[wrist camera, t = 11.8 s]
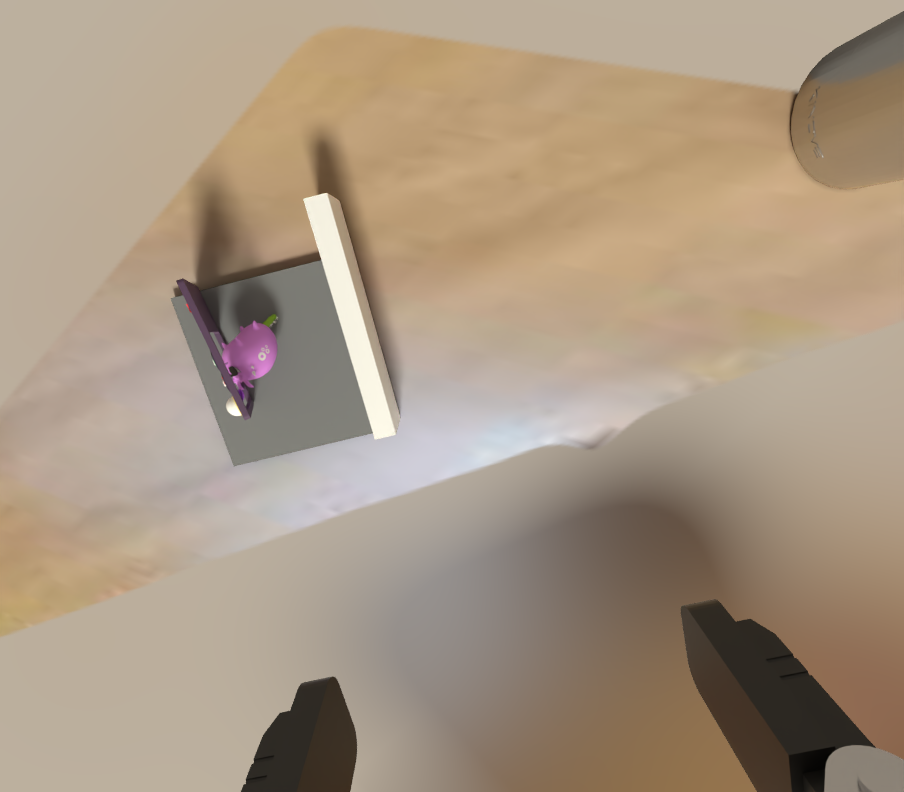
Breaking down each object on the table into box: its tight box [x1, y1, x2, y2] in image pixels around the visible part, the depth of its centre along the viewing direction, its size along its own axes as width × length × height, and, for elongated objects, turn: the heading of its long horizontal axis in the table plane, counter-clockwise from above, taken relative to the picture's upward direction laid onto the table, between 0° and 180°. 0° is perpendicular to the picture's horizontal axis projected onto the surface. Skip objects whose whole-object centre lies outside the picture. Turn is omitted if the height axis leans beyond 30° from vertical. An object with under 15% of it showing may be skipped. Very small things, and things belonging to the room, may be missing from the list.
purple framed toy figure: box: [176, 279, 278, 420], centre depth 34 cm, size 7×5×9 cm
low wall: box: [304, 193, 400, 440], centre depth 35 cm, size 2×16×4 cm, turn 14°
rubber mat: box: [171, 260, 373, 466], centre depth 37 cm, size 11×13×1 cm
